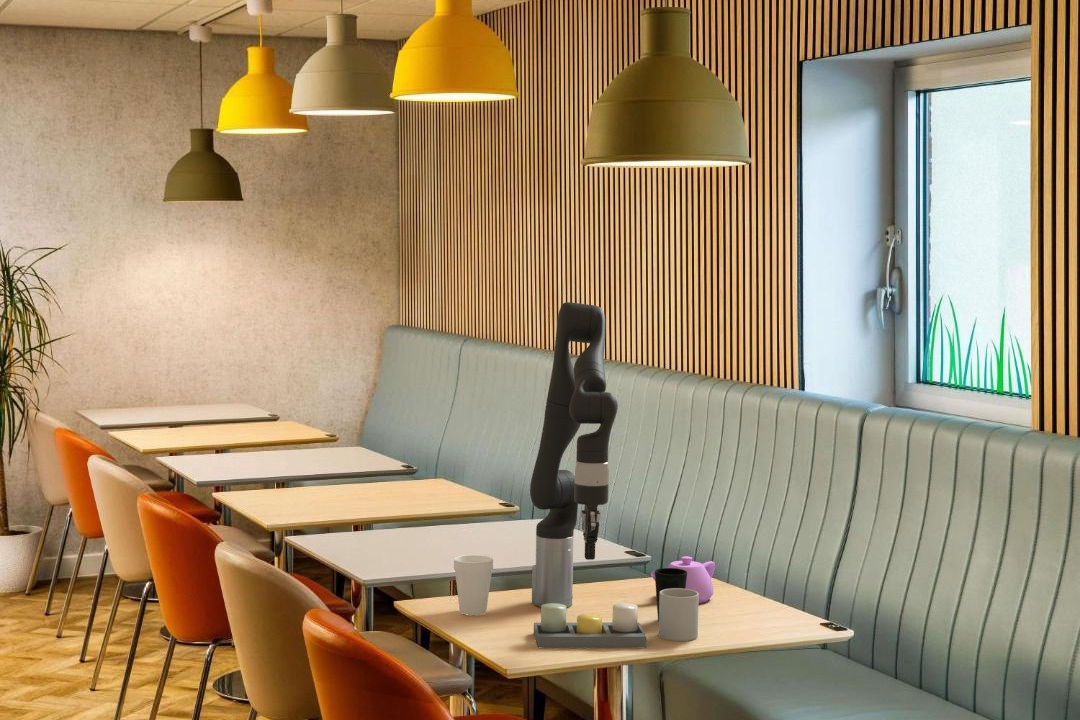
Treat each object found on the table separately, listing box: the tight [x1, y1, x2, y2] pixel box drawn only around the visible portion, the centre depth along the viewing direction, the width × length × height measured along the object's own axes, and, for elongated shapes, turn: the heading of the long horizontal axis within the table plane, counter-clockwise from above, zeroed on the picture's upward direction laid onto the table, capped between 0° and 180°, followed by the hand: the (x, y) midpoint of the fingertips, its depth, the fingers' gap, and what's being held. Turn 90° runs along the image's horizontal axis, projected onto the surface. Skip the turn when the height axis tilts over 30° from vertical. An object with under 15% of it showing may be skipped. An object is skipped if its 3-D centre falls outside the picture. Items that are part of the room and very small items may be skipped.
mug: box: [658, 588, 700, 642], centre depth 311 cm, size 11×10×10 cm
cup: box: [654, 567, 687, 623], centre depth 323 cm, size 8×8×12 cm
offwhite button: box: [612, 602, 639, 632], centre depth 306 cm, size 6×6×5 cm
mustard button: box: [576, 613, 603, 634], centre depth 305 cm, size 6×6×5 cm
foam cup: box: [453, 554, 494, 616], centre depth 329 cm, size 10×9×13 cm
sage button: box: [540, 603, 567, 632], centre depth 305 cm, size 6×6×5 cm
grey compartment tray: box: [533, 621, 647, 649], centre depth 305 cm, size 24×12×2 cm, turn 94°
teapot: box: [650, 555, 716, 604], centre depth 346 cm, size 14×20×11 cm
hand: (589, 558), depth 304 cm, fingers closed
